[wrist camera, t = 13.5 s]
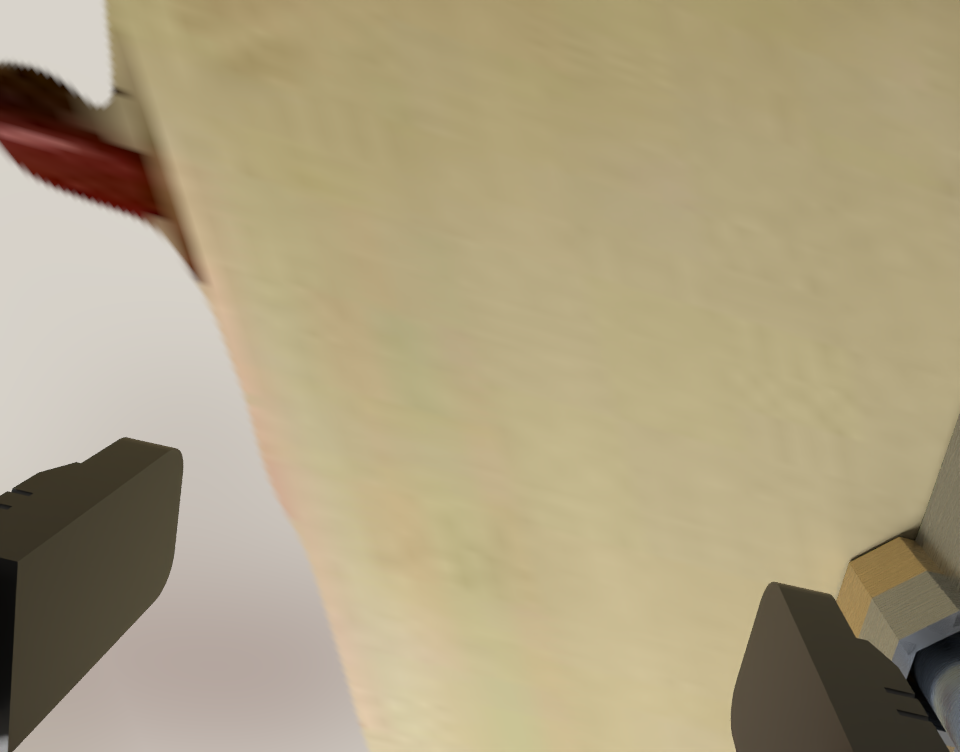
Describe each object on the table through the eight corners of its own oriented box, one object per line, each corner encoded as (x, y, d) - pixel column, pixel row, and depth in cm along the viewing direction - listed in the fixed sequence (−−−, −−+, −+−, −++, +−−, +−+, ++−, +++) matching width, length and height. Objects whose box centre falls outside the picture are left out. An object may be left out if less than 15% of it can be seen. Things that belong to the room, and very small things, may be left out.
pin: (920, 560, 42) (1044, 716, 31) (955, 611, 43) (1090, 783, 31) (860, 593, 43) (959, 757, 32) (894, 643, 44) (1005, 823, 32)
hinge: (904, 393, 41) (968, 442, 34) (1043, 422, 40) (1136, 478, 33) (784, 756, 46) (819, 862, 39) (906, 785, 45) (963, 896, 39)
